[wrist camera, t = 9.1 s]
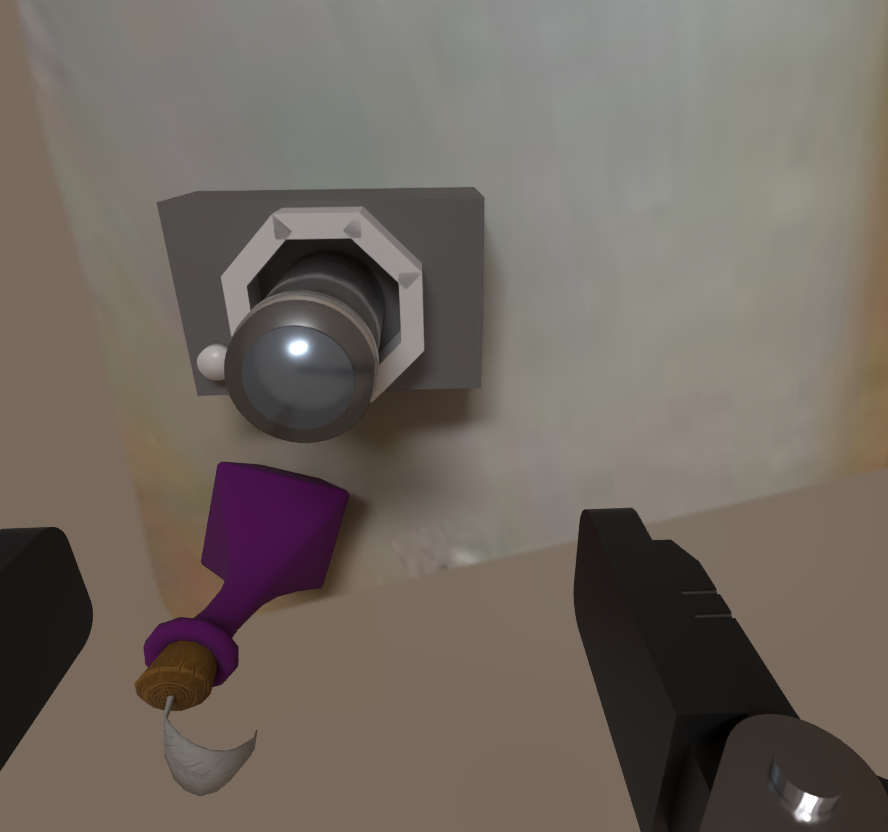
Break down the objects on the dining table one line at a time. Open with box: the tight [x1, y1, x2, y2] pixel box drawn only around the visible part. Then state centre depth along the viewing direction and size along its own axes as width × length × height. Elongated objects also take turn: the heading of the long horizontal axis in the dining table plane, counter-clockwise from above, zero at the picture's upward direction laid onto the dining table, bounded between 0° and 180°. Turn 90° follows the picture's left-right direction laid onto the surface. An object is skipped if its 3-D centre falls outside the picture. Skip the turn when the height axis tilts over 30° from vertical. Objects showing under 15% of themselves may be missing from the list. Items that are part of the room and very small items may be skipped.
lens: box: [224, 250, 385, 443], centre depth 23 cm, size 5×5×9 cm
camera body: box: [157, 187, 484, 402], centre depth 29 cm, size 14×9×7 cm, turn 91°
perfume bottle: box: [135, 462, 349, 796], centre depth 30 cm, size 8×8×18 cm
